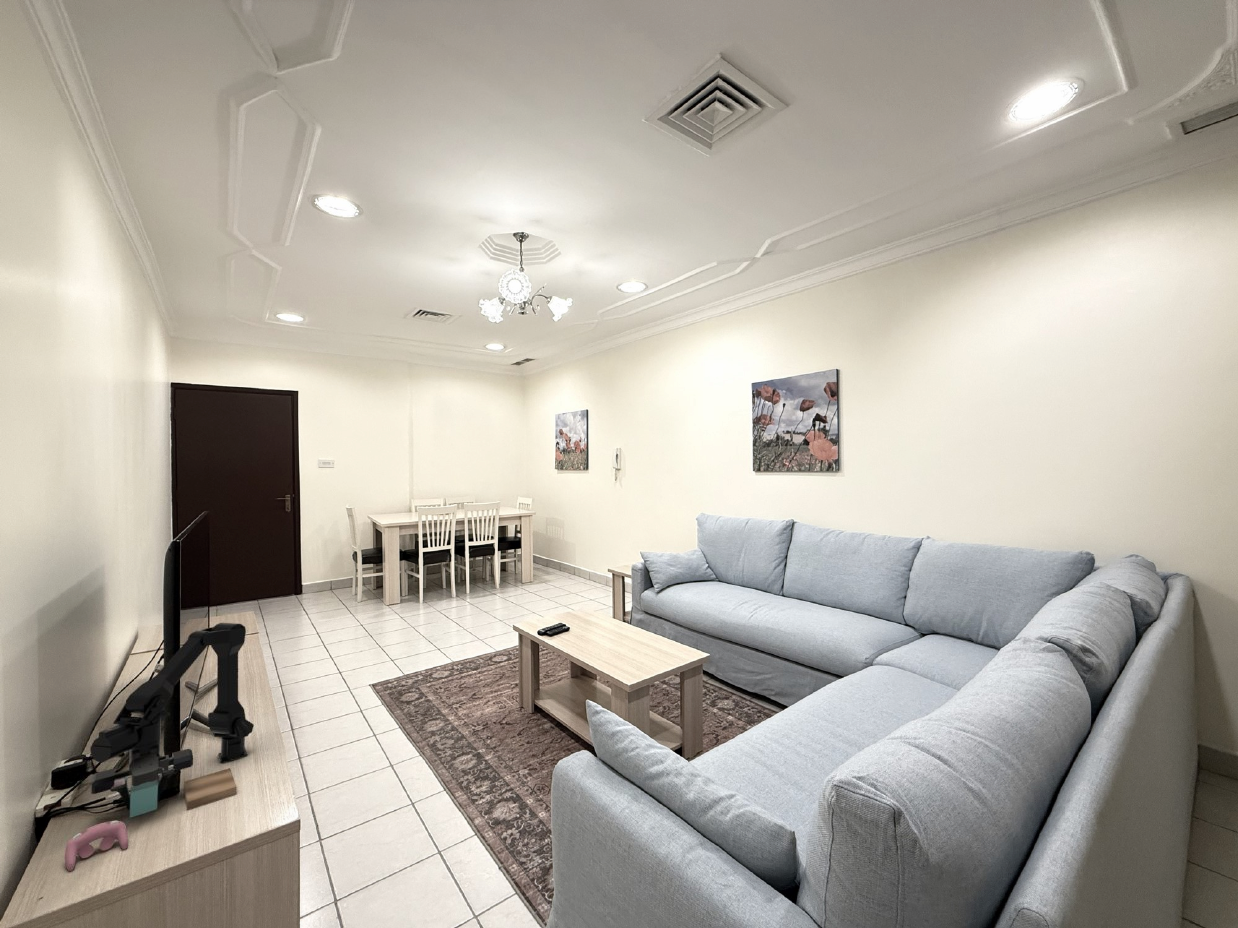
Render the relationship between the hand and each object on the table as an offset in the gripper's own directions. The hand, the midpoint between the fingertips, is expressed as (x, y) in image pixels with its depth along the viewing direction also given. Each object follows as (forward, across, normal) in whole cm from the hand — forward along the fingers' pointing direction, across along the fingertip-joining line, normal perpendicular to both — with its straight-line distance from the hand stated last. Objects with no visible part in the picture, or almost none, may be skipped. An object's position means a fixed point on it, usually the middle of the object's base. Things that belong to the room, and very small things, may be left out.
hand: (143, 804), depth 133 cm
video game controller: (+1, -8, -15) cm, 17 cm away
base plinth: (+1, +13, -2) cm, 13 cm away
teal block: (+1, 0, 0) cm, 1 cm away
